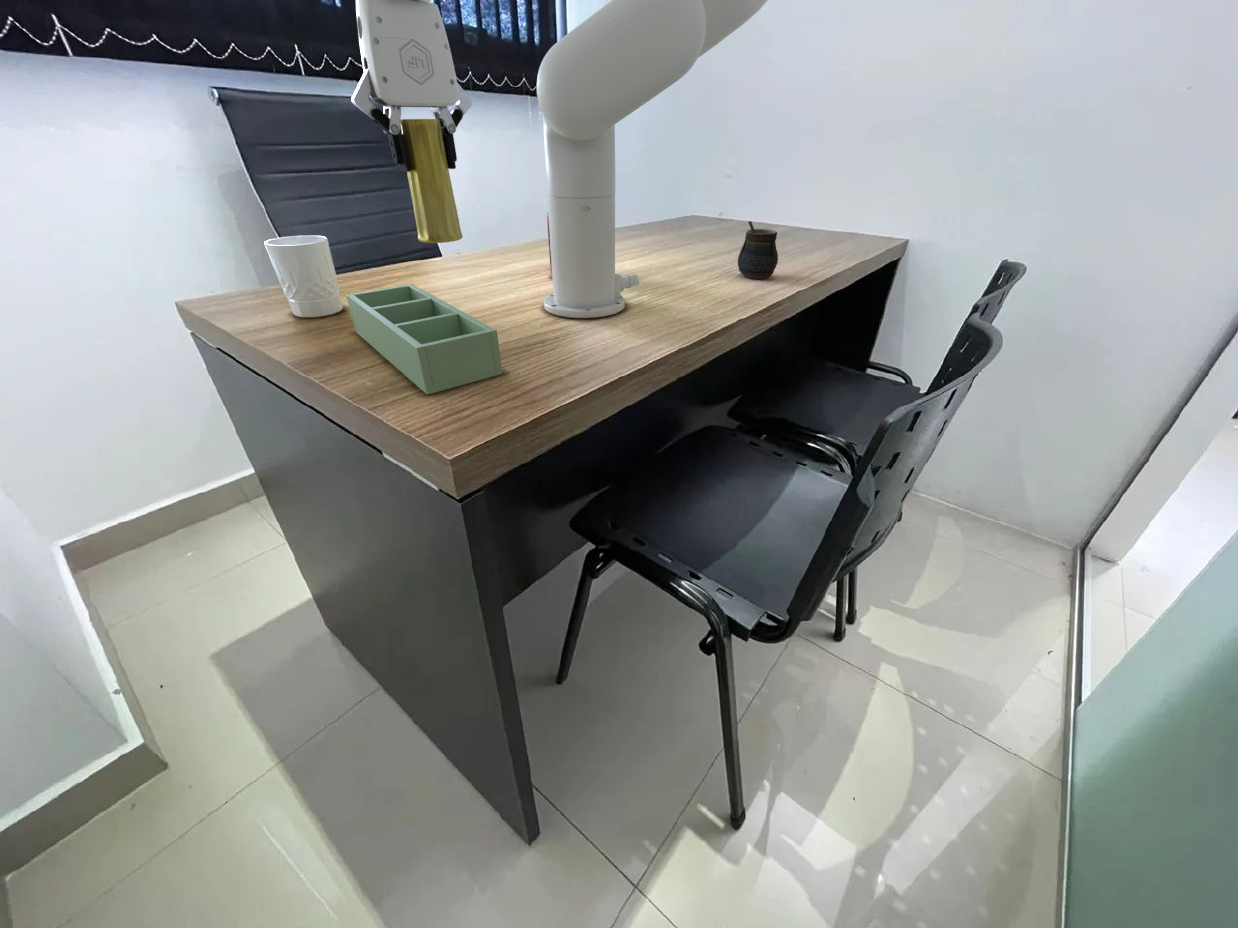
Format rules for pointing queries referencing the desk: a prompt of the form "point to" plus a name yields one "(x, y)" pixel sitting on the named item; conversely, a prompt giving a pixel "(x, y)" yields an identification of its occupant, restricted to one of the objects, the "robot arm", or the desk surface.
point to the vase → (430, 182)
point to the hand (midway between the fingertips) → (427, 168)
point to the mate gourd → (758, 253)
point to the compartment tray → (426, 337)
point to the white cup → (306, 274)
